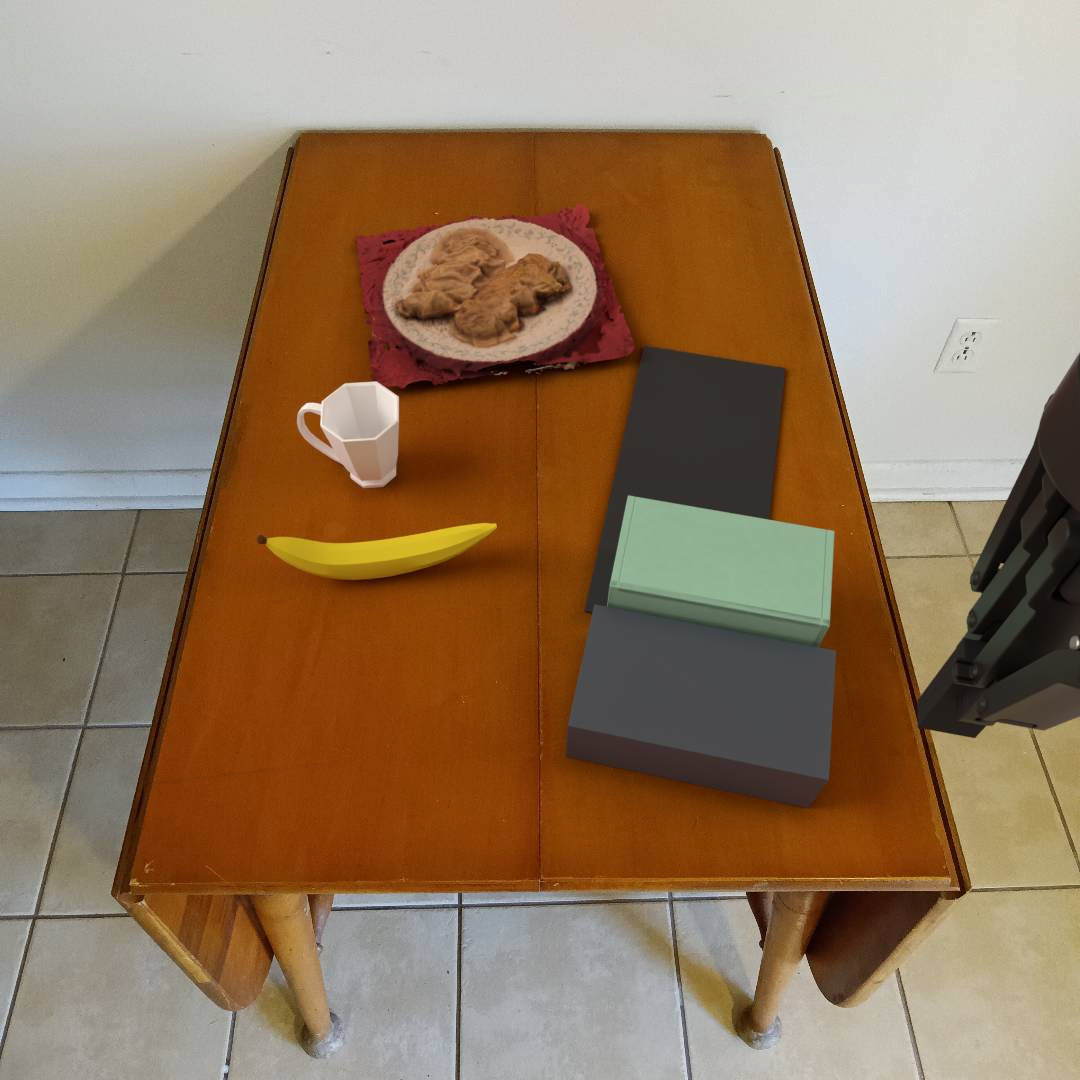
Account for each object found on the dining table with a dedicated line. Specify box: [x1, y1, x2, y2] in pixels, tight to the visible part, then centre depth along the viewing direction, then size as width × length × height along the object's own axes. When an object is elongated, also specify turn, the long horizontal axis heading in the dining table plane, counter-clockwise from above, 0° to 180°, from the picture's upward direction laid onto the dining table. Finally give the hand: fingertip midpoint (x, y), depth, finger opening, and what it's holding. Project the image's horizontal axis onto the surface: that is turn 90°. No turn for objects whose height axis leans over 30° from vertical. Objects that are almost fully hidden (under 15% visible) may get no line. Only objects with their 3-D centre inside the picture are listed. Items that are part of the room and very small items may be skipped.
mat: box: [584, 345, 786, 614], centre depth 86 cm, size 14×31×1 cm, turn 168°
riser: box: [565, 604, 837, 809], centre depth 70 cm, size 18×10×6 cm, turn 77°
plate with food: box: [355, 203, 637, 389], centre depth 97 cm, size 24×26×4 cm
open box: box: [607, 495, 836, 648], centre depth 75 cm, size 16×8×8 cm
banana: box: [256, 522, 499, 581], centre depth 78 cm, size 3×19×6 cm, turn 97°
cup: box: [296, 381, 400, 489], centre depth 83 cm, size 7×10×8 cm
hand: (945, 718), depth 47 cm, fingers closed
